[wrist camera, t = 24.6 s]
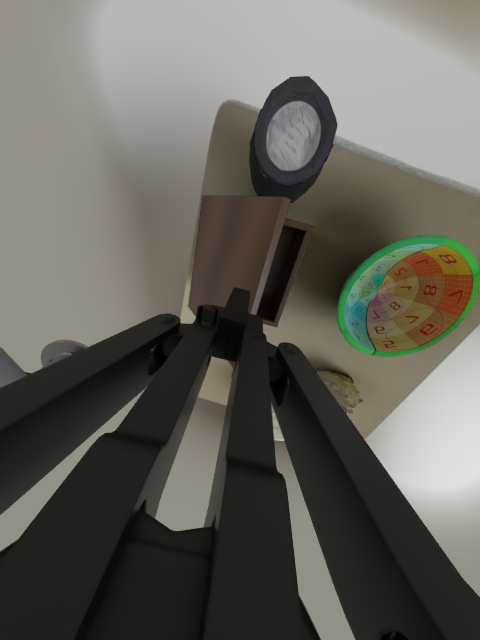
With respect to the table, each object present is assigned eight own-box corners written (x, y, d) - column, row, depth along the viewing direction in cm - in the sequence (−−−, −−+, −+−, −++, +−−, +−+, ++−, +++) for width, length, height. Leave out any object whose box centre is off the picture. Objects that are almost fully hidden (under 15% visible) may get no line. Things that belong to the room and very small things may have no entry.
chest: (299, 227, 38) (314, 225, 28) (272, 307, 46) (276, 327, 36) (219, 206, 38) (205, 196, 28) (205, 289, 45) (190, 305, 36)
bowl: (360, 215, 37) (394, 210, 28) (457, 260, 38) (518, 268, 29) (303, 313, 46) (314, 333, 37) (383, 346, 48) (412, 372, 39)
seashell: (319, 354, 52) (328, 378, 43) (365, 378, 52) (384, 408, 43) (296, 380, 56) (300, 407, 47) (339, 403, 57) (351, 434, 48)
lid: (291, 199, 15) (284, 196, 15) (239, 368, 23) (234, 369, 22) (207, 197, 28) (202, 195, 27) (192, 306, 35) (188, 306, 35)
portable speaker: (261, 146, 34) (266, 47, 16) (309, 166, 34) (366, 92, 16) (245, 200, 37) (234, 168, 19) (289, 217, 38) (318, 202, 20)
